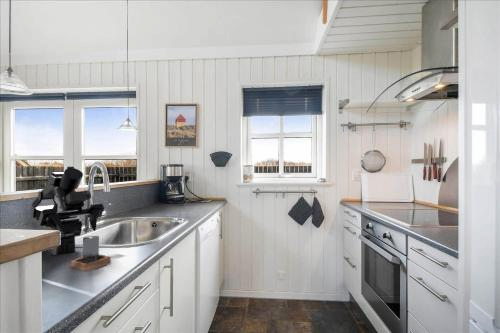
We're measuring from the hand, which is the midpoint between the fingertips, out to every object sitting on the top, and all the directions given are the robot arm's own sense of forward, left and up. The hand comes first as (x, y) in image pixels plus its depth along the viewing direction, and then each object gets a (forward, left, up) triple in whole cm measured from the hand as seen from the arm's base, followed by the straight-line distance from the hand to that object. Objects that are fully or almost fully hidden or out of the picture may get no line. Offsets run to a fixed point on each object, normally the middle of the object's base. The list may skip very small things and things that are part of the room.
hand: (80, 232), depth 88 cm
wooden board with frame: (+8, +1, -10) cm, 13 cm away
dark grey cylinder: (+8, -2, -9) cm, 12 cm away
